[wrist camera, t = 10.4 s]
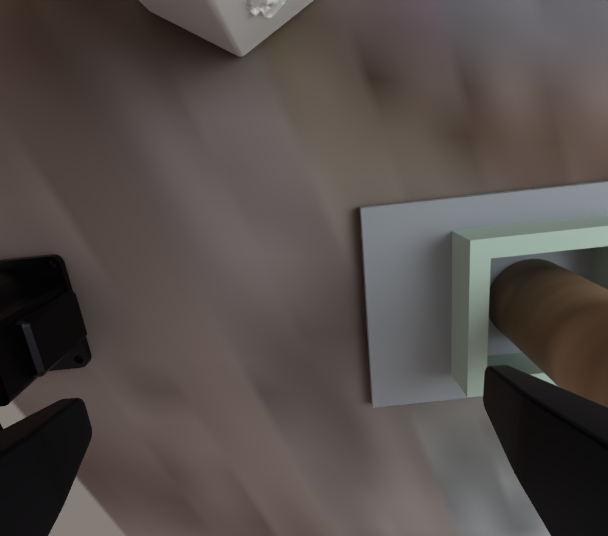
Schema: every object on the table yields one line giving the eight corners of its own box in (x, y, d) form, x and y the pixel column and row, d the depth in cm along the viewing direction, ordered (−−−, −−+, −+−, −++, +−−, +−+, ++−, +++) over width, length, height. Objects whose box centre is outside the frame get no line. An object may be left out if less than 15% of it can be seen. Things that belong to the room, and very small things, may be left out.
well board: (371, 402, 24) (380, 433, 22) (359, 206, 21) (368, 215, 18) (665, 371, 24) (709, 398, 22) (702, 170, 21) (760, 173, 18)
